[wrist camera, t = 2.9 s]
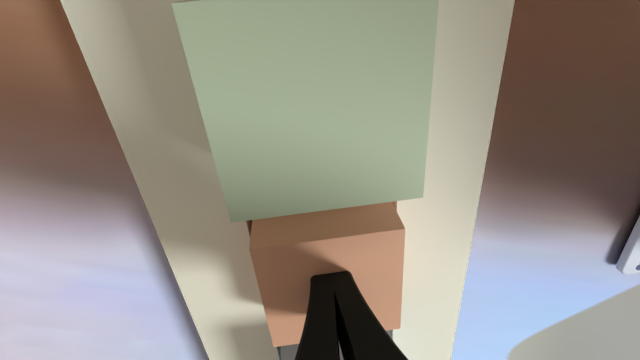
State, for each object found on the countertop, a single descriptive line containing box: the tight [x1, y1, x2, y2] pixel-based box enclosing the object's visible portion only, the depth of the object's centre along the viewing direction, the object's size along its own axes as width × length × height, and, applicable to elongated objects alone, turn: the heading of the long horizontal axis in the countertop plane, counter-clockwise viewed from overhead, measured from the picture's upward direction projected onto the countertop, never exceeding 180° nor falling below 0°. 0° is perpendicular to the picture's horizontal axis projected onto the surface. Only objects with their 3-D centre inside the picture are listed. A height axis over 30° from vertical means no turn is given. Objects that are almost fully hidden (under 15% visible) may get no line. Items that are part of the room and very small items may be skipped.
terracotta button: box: [249, 202, 405, 347], centre depth 14 cm, size 5×5×3 cm
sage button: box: [171, 0, 439, 223], centre depth 9 cm, size 5×5×3 cm
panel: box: [60, 0, 515, 360], centre depth 15 cm, size 12×23×2 cm, turn 5°
